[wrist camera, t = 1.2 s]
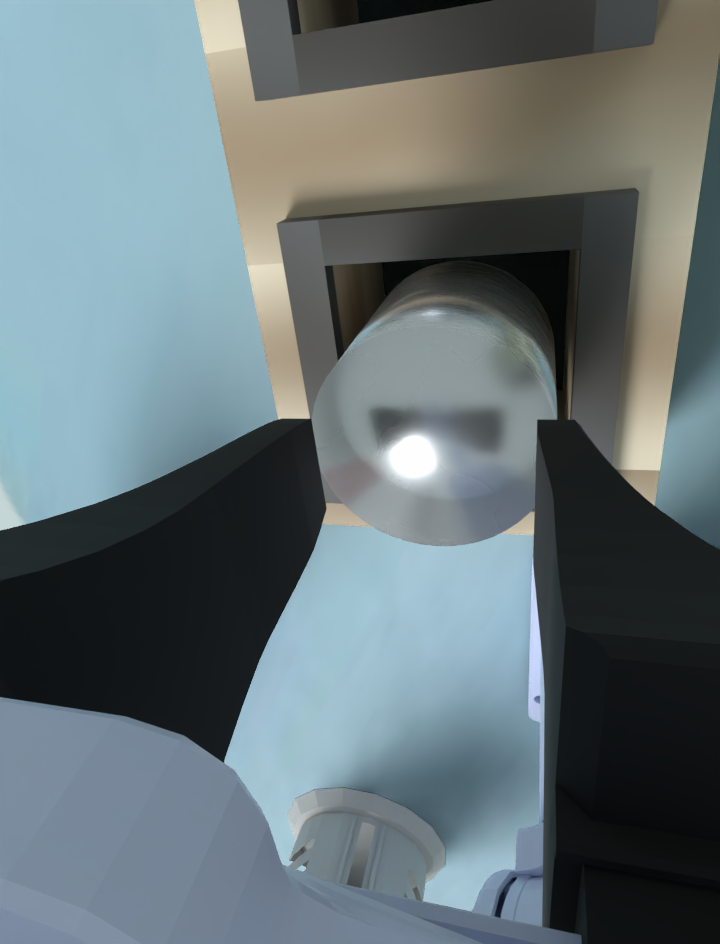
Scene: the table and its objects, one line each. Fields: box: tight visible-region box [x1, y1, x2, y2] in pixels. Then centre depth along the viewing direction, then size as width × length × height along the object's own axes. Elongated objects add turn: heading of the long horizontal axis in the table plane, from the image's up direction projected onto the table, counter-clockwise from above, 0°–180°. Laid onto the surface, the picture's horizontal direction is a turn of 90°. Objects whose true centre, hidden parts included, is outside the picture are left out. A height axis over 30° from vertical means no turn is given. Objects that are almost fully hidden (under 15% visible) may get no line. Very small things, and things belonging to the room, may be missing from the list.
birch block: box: [194, 0, 720, 535], centre depth 15 cm, size 20×10×6 cm, turn 7°
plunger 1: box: [312, 261, 557, 546], centre depth 14 cm, size 5×5×5 cm
